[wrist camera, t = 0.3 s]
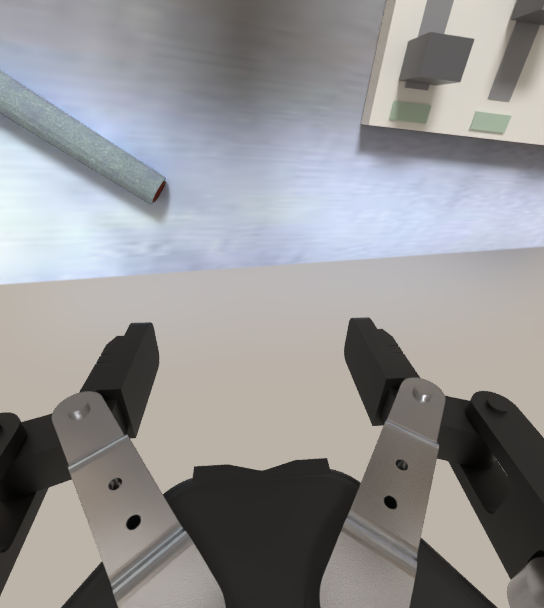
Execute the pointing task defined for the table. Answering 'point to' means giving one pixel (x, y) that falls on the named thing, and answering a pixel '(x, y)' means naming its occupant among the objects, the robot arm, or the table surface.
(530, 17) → the block
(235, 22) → the table surface
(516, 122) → the breaker panel
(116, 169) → the aluminum foil
